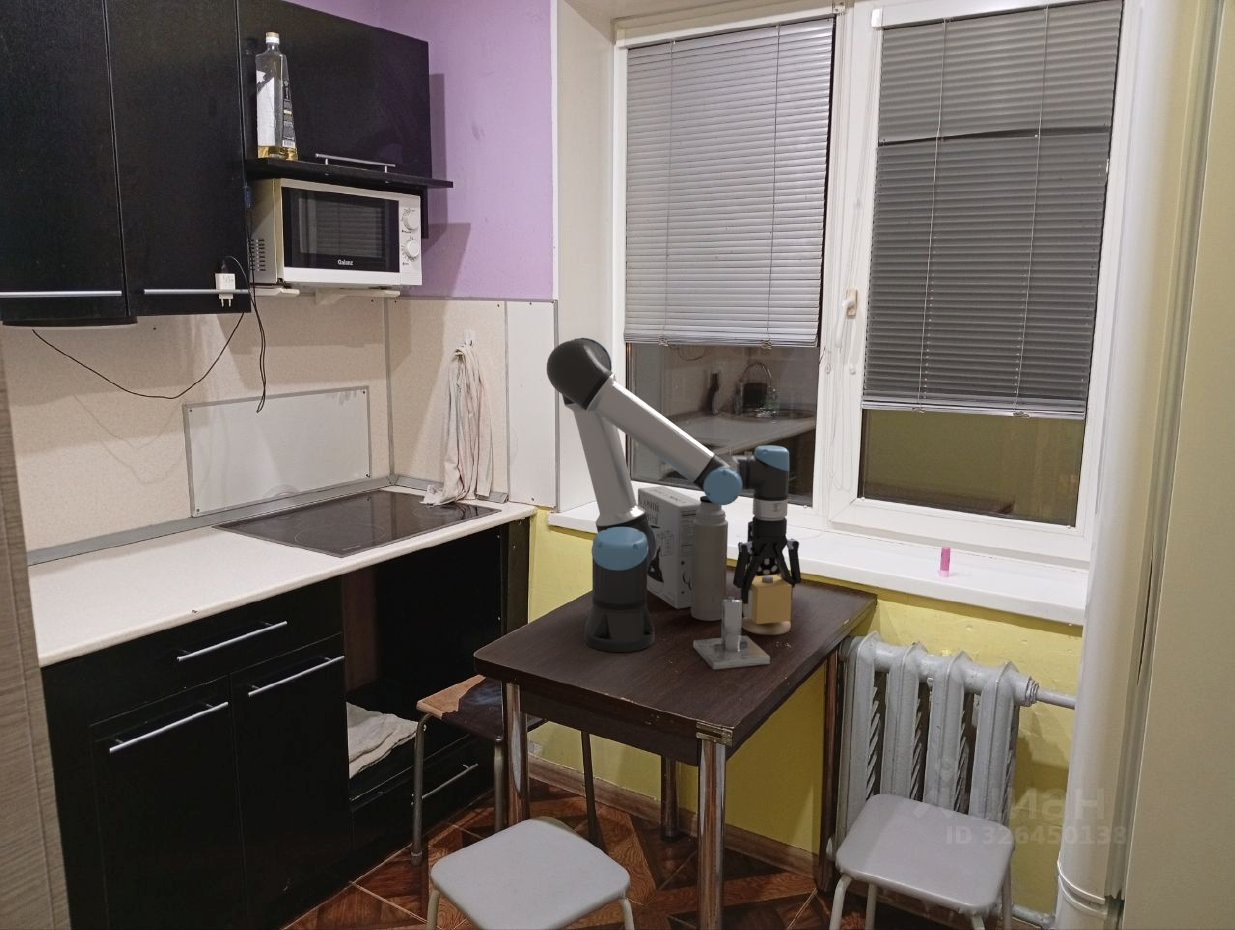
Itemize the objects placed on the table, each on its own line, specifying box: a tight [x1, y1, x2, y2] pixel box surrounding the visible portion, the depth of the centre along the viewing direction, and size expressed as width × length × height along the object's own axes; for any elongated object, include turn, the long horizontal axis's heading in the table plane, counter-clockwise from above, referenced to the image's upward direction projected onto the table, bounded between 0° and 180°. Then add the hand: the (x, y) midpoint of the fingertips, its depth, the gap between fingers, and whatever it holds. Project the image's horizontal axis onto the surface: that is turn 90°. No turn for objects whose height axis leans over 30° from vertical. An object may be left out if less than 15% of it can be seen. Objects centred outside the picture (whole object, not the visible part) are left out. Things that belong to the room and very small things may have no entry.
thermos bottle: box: [690, 495, 729, 622], centre depth 211 cm, size 8×8×28 cm
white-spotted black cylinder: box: [745, 520, 784, 579], centre depth 218 cm, size 8×8×20 cm
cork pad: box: [741, 616, 792, 636], centre depth 206 cm, size 11×11×1 cm
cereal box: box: [637, 485, 701, 610], centre depth 226 cm, size 22×8×25 cm, turn 25°
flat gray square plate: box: [692, 596, 771, 670], centre depth 188 cm, size 12×12×12 cm
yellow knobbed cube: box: [742, 575, 793, 624], centre depth 205 cm, size 8×8×9 cm
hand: (765, 615), depth 206 cm, fingers open, 8 cm apart
